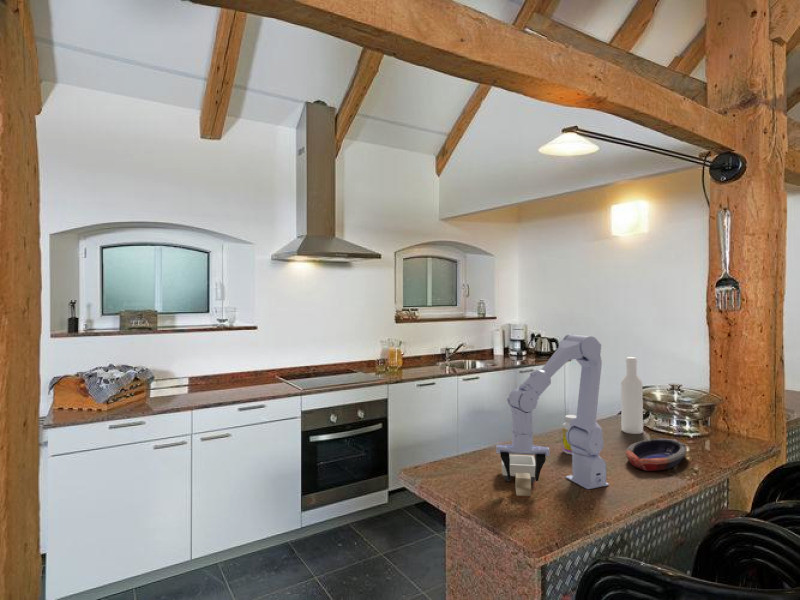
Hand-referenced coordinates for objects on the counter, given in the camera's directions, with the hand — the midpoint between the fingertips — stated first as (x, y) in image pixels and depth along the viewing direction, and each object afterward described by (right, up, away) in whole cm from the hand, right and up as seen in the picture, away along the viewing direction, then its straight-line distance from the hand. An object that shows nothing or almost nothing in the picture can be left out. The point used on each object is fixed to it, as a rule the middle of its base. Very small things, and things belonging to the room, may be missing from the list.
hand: (522, 479), depth 134 cm
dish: (+50, -3, +23) cm, 56 cm away
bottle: (+59, -2, +57) cm, 82 cm away
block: (0, -4, 0) cm, 4 cm away
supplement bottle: (+26, -3, +33) cm, 42 cm away
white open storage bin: (+2, -4, +11) cm, 12 cm away
